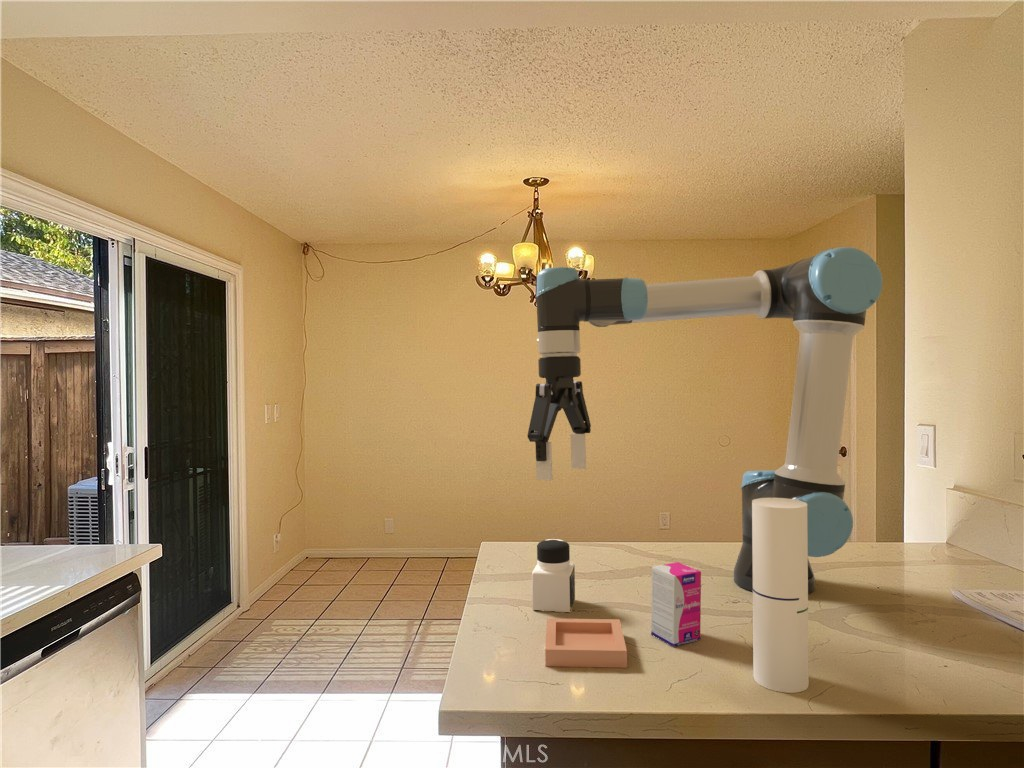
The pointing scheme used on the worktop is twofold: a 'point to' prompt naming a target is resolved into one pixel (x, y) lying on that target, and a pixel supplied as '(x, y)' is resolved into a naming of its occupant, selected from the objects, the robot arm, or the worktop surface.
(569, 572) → the medicine bottle
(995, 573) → the worktop surface
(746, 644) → the worktop surface
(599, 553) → the worktop surface
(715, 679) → the worktop surface
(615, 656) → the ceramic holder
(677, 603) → the supplement box
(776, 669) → the cylindrical container
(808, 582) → the robot arm
